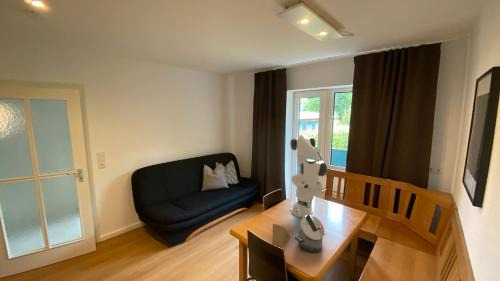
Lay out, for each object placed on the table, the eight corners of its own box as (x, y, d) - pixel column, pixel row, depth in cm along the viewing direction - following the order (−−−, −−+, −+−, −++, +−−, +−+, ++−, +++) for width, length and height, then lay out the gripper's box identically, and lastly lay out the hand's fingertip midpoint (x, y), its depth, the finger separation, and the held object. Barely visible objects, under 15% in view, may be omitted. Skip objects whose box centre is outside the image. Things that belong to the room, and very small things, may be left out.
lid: (296, 218, 145) (298, 216, 143) (315, 213, 152) (316, 212, 150) (308, 244, 134) (310, 242, 133) (328, 237, 141) (330, 235, 140)
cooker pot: (290, 243, 149) (290, 232, 148) (314, 236, 158) (314, 225, 157) (305, 257, 135) (305, 244, 134) (330, 248, 144) (330, 236, 143)
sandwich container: (291, 236, 159) (291, 217, 157) (283, 247, 146) (284, 226, 144) (280, 233, 163) (280, 214, 161) (272, 243, 150) (272, 223, 148)
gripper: (318, 180, 150) (317, 198, 152) (294, 184, 142) (294, 203, 143) (324, 182, 144) (324, 201, 146) (300, 186, 136) (300, 207, 137)
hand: (309, 202), depth 144 cm, fingers closed
